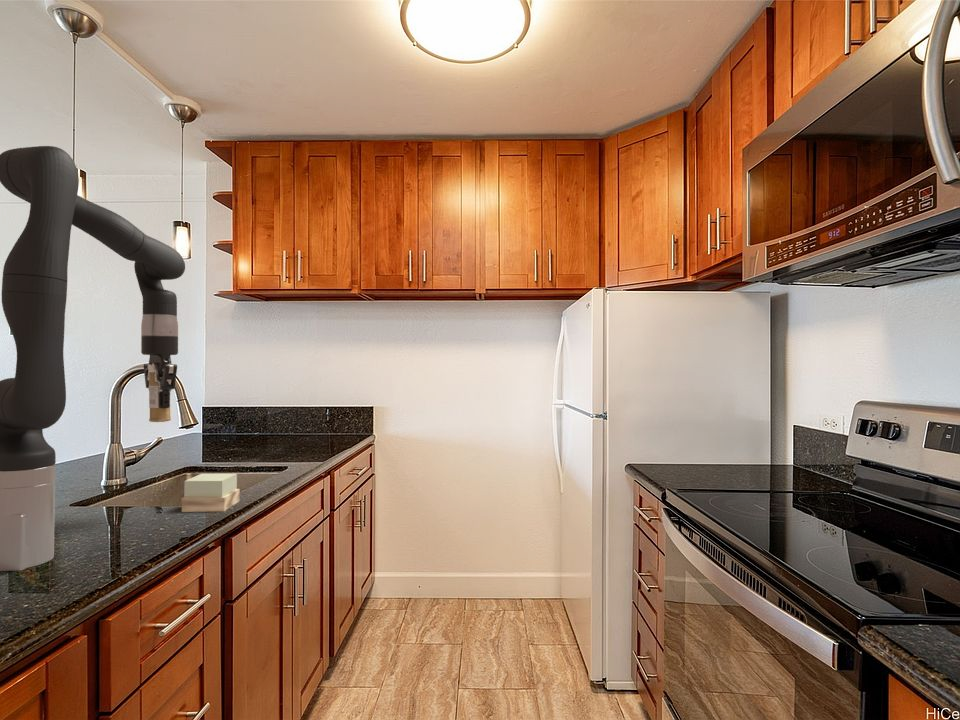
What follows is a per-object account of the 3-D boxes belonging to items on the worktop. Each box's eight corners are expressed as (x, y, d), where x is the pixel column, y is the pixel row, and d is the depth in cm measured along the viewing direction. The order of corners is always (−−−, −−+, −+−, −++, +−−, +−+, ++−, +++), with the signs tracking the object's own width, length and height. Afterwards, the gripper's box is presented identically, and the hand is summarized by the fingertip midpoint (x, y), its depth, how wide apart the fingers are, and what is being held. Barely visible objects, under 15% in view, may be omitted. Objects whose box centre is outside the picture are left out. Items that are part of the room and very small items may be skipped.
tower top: (222, 497, 135) (222, 480, 135) (184, 497, 135) (184, 481, 135) (236, 489, 144) (236, 473, 144) (201, 489, 144) (201, 473, 144)
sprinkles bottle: (173, 421, 131) (173, 364, 131) (151, 422, 127) (151, 364, 127) (167, 419, 134) (167, 364, 134) (146, 421, 131) (146, 364, 131)
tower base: (224, 514, 134) (224, 497, 135) (181, 514, 134) (181, 498, 134) (239, 504, 144) (239, 488, 144) (199, 504, 144) (200, 489, 144)
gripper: (189, 334, 129) (189, 408, 129) (165, 336, 138) (164, 404, 138) (154, 333, 123) (154, 410, 123) (131, 335, 132) (131, 406, 132)
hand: (159, 407), depth 131 cm, fingers closed on sprinkles bottle, 4 cm apart
